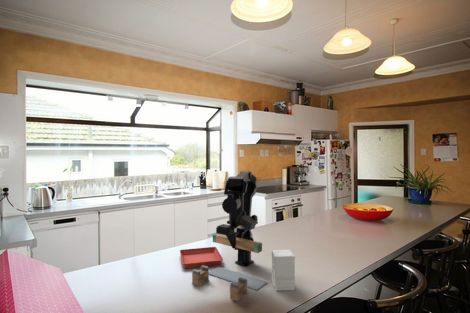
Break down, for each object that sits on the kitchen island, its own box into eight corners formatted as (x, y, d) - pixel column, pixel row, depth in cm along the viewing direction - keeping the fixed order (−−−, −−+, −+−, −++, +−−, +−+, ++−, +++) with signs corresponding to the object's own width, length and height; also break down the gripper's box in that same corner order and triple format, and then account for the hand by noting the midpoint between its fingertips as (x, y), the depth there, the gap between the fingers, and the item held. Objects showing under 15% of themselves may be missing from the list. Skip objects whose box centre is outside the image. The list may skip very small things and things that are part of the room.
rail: (217, 240, 117) (217, 232, 117) (262, 250, 104) (262, 242, 104) (212, 241, 114) (212, 234, 114) (257, 253, 101) (257, 244, 101)
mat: (219, 267, 119) (219, 266, 119) (267, 282, 105) (267, 281, 105) (206, 273, 113) (206, 272, 113) (256, 290, 99) (256, 289, 99)
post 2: (240, 291, 98) (240, 277, 98) (247, 294, 97) (247, 279, 97) (230, 298, 93) (230, 283, 93) (237, 301, 92) (237, 285, 92)
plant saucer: (181, 271, 116) (182, 263, 116) (179, 256, 134) (179, 249, 134) (223, 267, 121) (223, 259, 121) (215, 253, 138) (215, 246, 138)
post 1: (202, 278, 109) (203, 265, 109) (208, 280, 107) (208, 267, 107) (192, 283, 104) (192, 270, 104) (198, 286, 102) (198, 272, 102)
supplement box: (290, 281, 107) (290, 249, 107) (295, 290, 99) (295, 256, 99) (271, 281, 106) (271, 249, 106) (274, 291, 99) (274, 256, 99)
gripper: (239, 215, 97) (239, 259, 97) (265, 206, 112) (265, 245, 112) (215, 211, 103) (215, 252, 103) (243, 203, 118) (242, 239, 119)
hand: (236, 247), depth 109 cm, fingers closed on rail, 3 cm apart
